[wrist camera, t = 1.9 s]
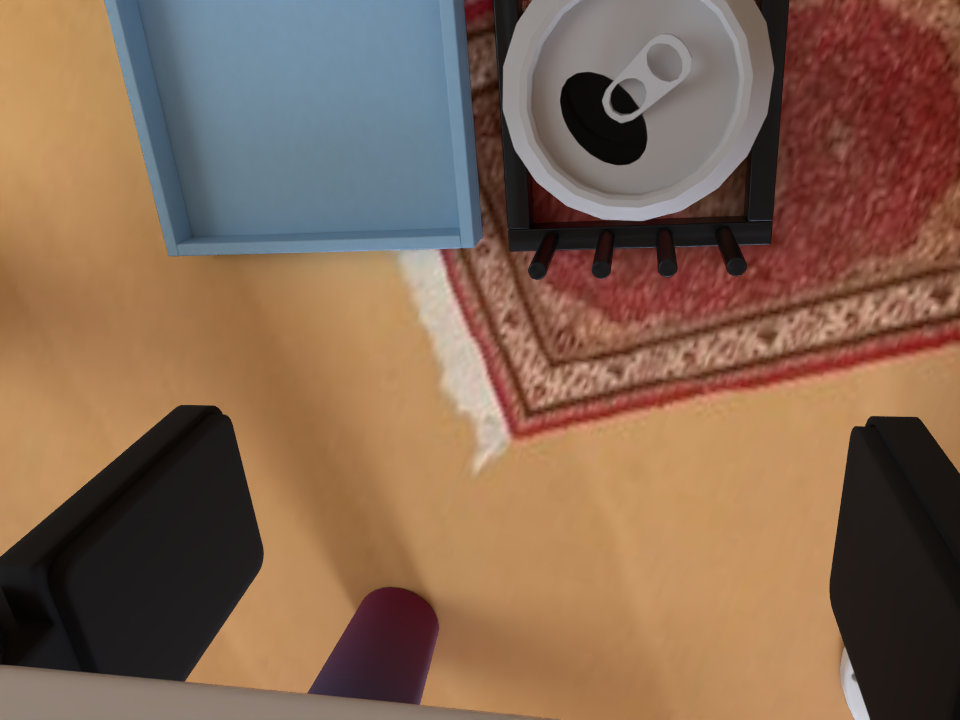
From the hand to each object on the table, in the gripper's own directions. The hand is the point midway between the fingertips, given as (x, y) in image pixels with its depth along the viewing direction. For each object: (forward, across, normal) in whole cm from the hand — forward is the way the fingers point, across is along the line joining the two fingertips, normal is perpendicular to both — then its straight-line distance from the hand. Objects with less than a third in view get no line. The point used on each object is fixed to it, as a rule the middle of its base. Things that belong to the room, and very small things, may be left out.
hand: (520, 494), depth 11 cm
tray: (+24, +13, -4) cm, 27 cm away
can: (+24, -2, -4) cm, 24 cm away
